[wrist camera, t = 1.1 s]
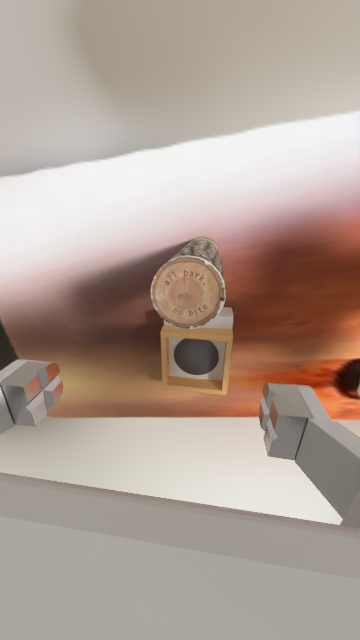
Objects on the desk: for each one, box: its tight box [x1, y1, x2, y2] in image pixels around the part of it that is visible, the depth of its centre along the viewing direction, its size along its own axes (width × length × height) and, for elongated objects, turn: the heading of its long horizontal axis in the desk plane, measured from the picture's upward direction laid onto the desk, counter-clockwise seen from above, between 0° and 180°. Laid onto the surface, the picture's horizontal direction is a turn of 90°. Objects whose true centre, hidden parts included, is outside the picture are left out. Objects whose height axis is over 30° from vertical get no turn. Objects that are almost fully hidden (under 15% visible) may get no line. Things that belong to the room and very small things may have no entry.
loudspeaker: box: [161, 307, 234, 395], centre depth 47 cm, size 13×18×8 cm
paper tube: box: [151, 237, 226, 329], centre depth 32 cm, size 7×7×25 cm
